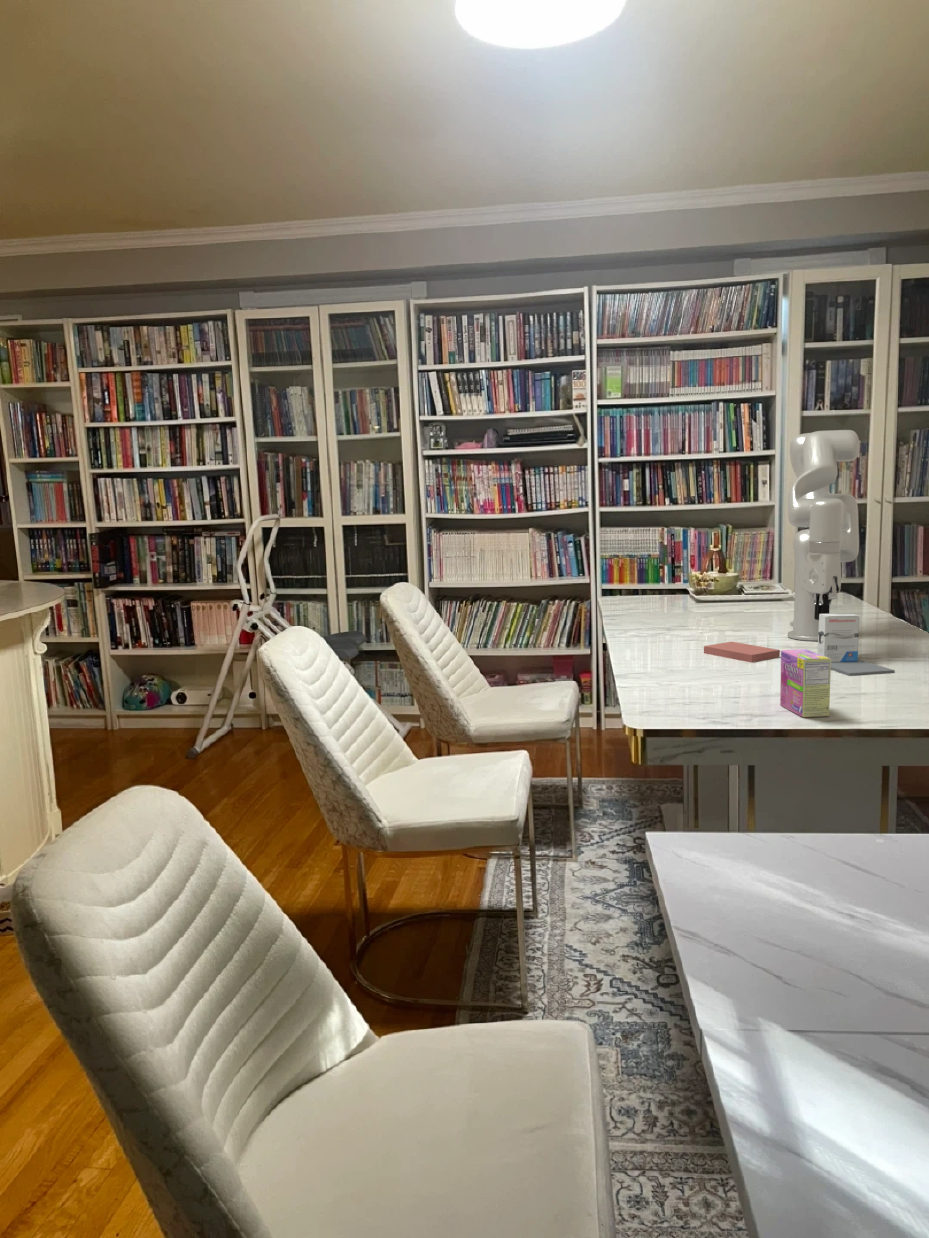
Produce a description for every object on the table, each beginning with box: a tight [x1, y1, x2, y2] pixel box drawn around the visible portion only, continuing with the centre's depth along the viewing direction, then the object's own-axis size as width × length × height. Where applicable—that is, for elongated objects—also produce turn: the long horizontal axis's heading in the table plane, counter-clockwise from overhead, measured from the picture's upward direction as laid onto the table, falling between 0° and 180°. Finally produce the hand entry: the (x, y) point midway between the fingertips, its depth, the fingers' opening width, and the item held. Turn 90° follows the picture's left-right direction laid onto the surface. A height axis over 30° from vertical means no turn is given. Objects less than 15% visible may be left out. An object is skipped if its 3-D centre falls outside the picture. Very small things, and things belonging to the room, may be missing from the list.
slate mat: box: [831, 658, 896, 677], centre depth 223 cm, size 18×12×1 cm, turn 11°
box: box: [779, 648, 832, 718], centre depth 181 cm, size 10×6×12 cm, turn 5°
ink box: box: [817, 612, 860, 662], centre depth 227 cm, size 8×5×12 cm, turn 89°
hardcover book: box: [703, 641, 781, 663], centre depth 240 cm, size 16×11×2 cm
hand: (821, 619), depth 233 cm, fingers closed
